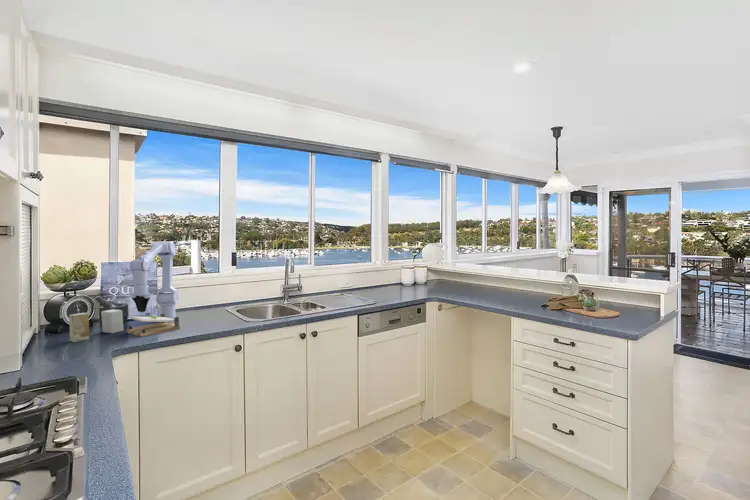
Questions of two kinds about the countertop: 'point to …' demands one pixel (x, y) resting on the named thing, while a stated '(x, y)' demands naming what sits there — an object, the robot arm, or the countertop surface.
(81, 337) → the skincare box
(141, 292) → the robot arm
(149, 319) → the levelling plate
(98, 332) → the countertop surface
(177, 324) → the oak base
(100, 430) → the countertop surface
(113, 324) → the small box
